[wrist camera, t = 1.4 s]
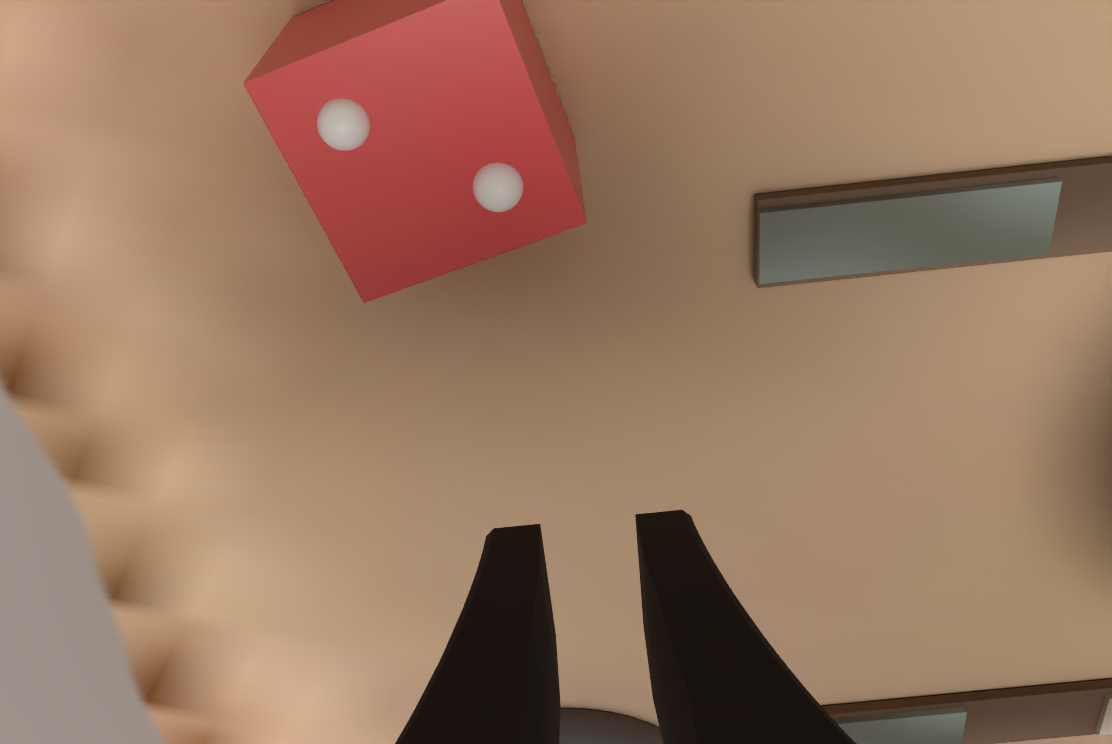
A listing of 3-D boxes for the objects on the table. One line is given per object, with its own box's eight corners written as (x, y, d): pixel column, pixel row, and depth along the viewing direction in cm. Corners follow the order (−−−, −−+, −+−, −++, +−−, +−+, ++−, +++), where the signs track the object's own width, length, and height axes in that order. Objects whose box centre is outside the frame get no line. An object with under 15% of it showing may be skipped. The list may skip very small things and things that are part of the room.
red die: (573, 138, 20) (588, 233, 16) (388, 207, 21) (360, 314, 17) (496, -67, 18) (491, -13, 14) (291, 16, 19) (237, 91, 15)
